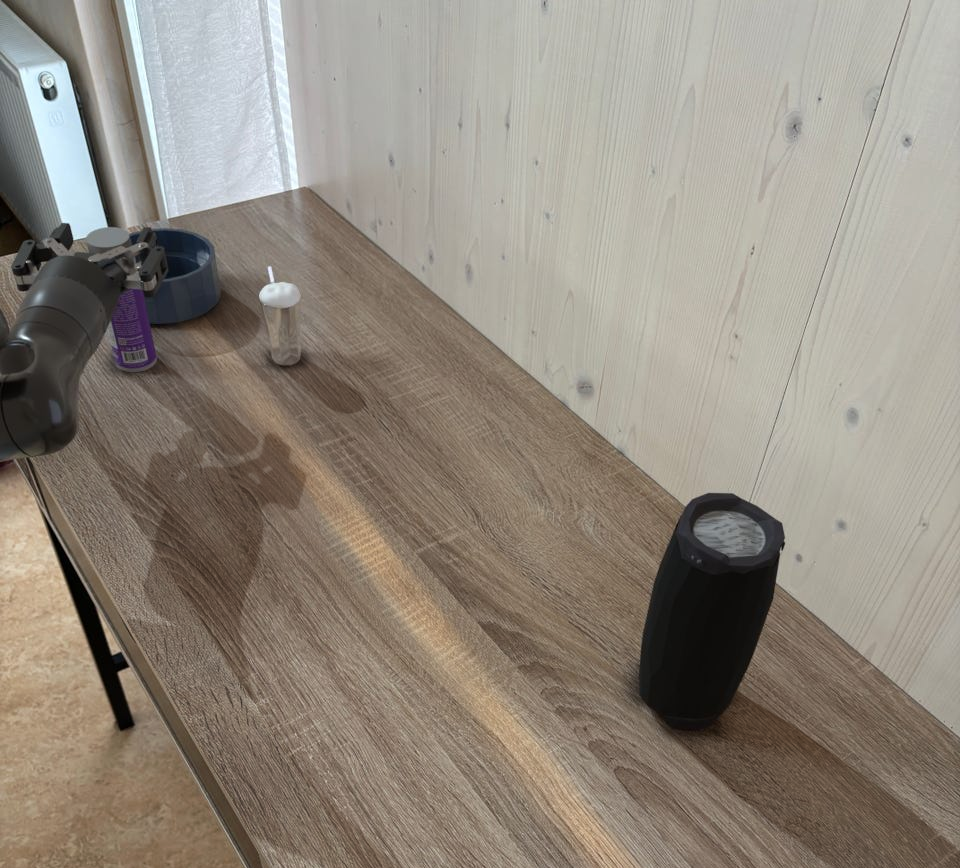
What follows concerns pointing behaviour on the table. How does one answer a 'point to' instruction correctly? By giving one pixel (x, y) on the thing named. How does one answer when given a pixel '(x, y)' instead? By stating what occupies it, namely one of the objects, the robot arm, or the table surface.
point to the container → (126, 311)
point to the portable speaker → (708, 608)
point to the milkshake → (282, 320)
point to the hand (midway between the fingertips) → (108, 233)
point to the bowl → (183, 277)
